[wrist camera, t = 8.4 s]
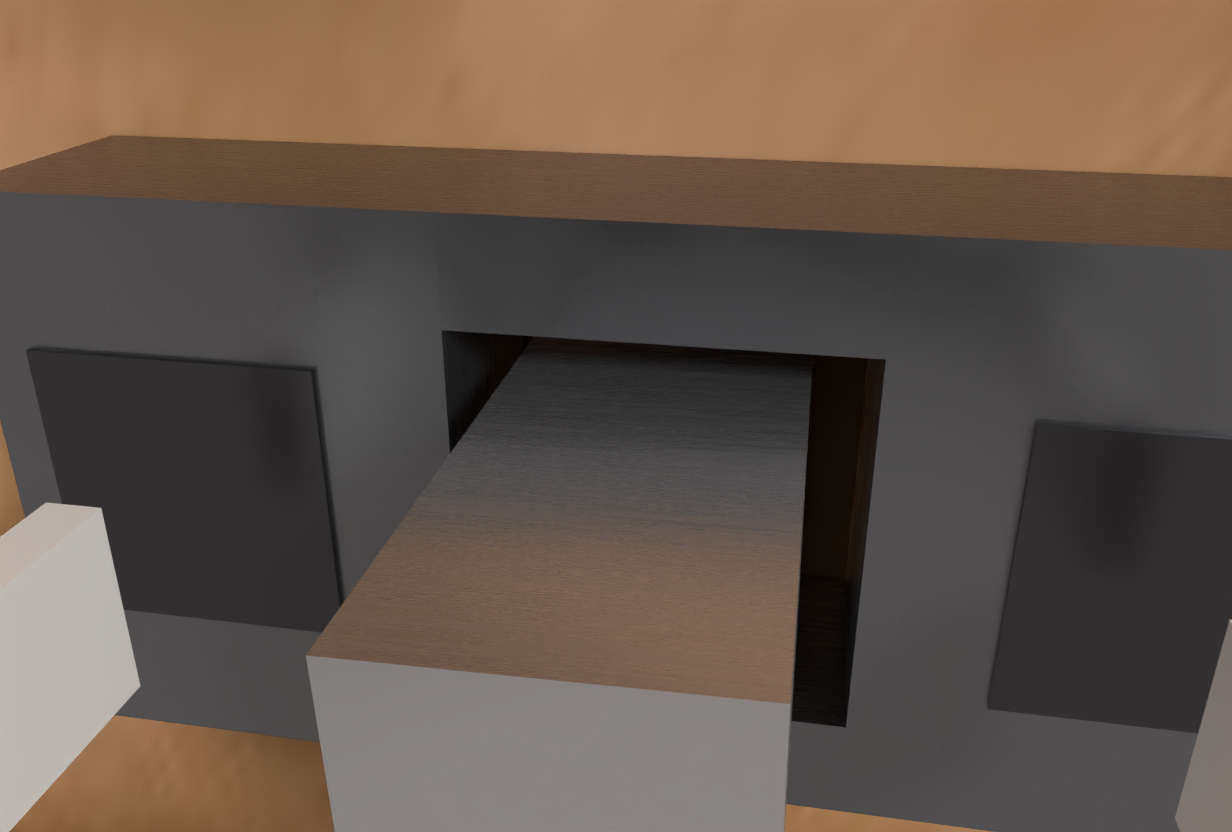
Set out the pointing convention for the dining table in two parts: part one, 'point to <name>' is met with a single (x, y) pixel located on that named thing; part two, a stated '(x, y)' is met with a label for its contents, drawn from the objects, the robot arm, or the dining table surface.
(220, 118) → the dining table surface
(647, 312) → the grey slotted base plate
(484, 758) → the light grey rectangular block
